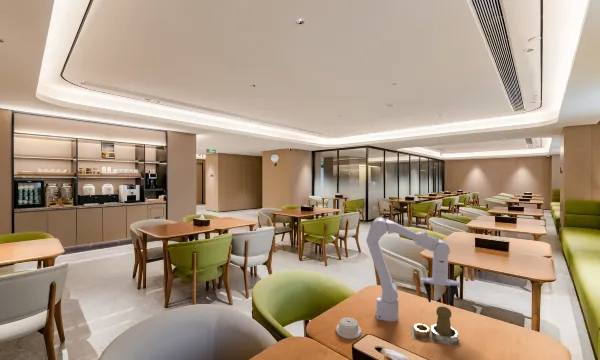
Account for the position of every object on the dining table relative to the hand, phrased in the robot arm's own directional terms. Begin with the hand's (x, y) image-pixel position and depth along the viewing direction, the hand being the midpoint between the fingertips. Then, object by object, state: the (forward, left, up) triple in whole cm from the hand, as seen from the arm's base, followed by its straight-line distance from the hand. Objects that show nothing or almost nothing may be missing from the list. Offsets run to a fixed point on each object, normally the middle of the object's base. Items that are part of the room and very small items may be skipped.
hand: (439, 302), depth 118 cm
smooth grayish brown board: (-3, -9, -10) cm, 14 cm away
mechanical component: (-36, -13, -11) cm, 40 cm away
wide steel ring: (0, -9, -9) cm, 13 cm away
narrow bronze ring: (-8, -9, -9) cm, 15 cm away
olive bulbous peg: (0, -8, -10) cm, 13 cm away
